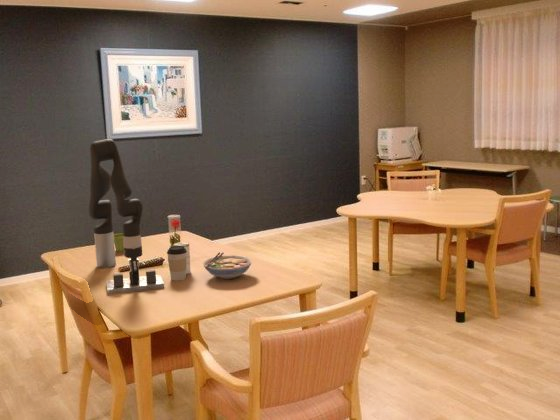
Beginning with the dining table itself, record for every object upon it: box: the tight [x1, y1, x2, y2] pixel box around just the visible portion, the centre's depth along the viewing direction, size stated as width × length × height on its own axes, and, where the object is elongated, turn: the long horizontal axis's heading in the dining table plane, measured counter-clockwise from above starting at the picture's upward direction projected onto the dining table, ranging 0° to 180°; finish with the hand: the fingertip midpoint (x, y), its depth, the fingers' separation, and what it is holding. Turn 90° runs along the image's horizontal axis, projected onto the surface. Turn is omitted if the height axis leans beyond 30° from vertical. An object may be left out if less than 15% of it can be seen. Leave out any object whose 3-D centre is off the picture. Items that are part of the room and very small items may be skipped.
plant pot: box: [113, 233, 124, 253], centre depth 327 cm, size 9×9×9 cm
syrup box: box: [172, 241, 192, 275], centre depth 280 cm, size 6×6×14 cm
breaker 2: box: [145, 269, 157, 283], centre depth 262 cm, size 2×4×5 cm, turn 108°
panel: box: [106, 274, 165, 296], centre depth 263 cm, size 14×24×2 cm, turn 108°
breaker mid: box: [128, 269, 140, 283], centre depth 263 cm, size 2×4×6 cm, turn 108°
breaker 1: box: [112, 272, 124, 287], centre depth 258 cm, size 2×4×5 cm, turn 108°
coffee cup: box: [166, 245, 187, 281], centre depth 273 cm, size 9×9×15 cm
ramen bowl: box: [202, 252, 253, 280], centre depth 273 cm, size 25×23×8 cm
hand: (135, 284), depth 257 cm, fingers closed
